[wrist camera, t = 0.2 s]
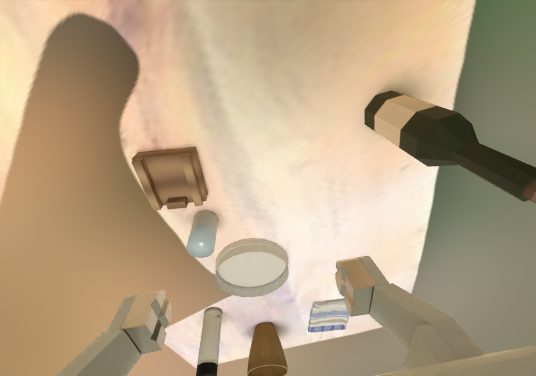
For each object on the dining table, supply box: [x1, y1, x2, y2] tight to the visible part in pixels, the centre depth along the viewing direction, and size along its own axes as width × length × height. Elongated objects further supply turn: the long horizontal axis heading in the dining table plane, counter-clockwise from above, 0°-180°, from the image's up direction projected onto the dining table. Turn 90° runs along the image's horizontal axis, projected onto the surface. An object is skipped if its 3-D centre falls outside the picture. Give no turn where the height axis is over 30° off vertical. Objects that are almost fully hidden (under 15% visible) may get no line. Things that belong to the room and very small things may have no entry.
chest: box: [132, 147, 208, 210], centre depth 48 cm, size 12×12×5 cm
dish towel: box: [308, 299, 350, 332], centre depth 92 cm, size 17×24×3 cm
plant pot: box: [247, 323, 288, 376], centre depth 86 cm, size 15×15×16 cm
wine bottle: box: [365, 91, 536, 203], centre depth 34 cm, size 8×8×30 cm
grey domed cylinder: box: [187, 210, 218, 258], centre depth 54 cm, size 6×6×10 cm
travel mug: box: [196, 307, 222, 376], centre depth 74 cm, size 6×7×20 cm
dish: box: [215, 238, 289, 297], centre depth 68 cm, size 22×22×5 cm
